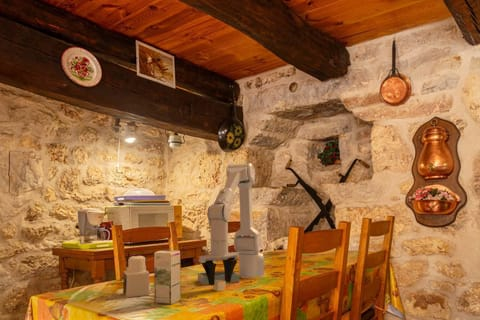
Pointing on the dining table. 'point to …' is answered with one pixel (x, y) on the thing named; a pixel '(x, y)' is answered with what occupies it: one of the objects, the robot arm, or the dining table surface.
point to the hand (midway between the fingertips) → (219, 283)
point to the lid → (219, 285)
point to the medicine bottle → (136, 277)
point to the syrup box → (166, 277)
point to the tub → (218, 277)
